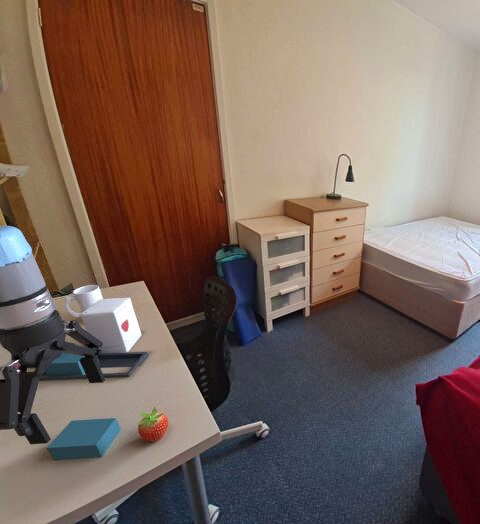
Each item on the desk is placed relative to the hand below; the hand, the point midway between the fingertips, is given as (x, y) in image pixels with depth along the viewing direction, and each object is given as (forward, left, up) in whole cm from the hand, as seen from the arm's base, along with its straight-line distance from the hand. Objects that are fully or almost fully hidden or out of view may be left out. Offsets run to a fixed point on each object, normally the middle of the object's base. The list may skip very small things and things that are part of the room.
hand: (72, 408), depth 55 cm
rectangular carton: (-15, +34, -12) cm, 39 cm away
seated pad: (-21, +23, -11) cm, 33 cm away
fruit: (+13, +1, -12) cm, 18 cm away
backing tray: (-15, +23, -12) cm, 30 cm away
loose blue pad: (0, 0, -12) cm, 12 cm away
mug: (-34, +49, -12) cm, 61 cm away
